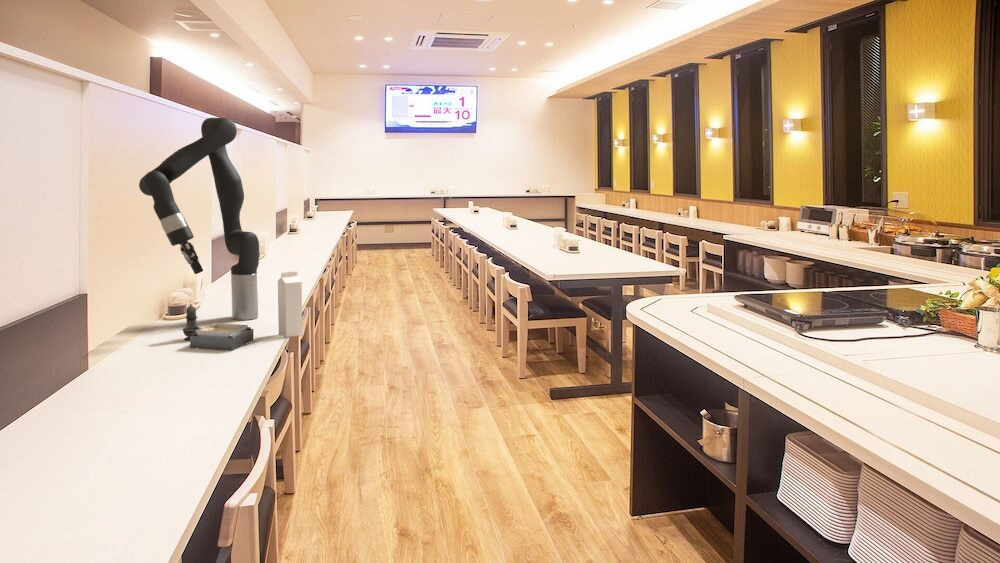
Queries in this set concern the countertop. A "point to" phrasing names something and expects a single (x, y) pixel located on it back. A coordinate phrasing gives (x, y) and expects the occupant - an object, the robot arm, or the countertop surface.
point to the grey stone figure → (190, 322)
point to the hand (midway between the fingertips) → (199, 272)
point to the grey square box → (221, 337)
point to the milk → (290, 304)
